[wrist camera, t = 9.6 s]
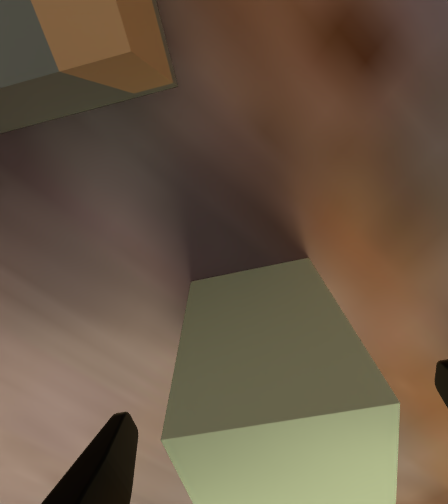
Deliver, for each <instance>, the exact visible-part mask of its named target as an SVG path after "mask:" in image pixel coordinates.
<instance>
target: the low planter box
mask: <svg viewBox="0 0 448 504" xmlns="http://www.w3.org/2000/svg"><path fill="white" fill-rule="evenodd" d="M174 87H178V84H177V80H176V77H175V73H174V69H173V65H172V61H171V57H170V53H169V49H168V45H167V41H166V38H165V34H164V30H163V26H162V22H161V18H160V14H159V10H158V6H157V2H156V0H0V133H4V132H8V131H11V130H15V129H19V128H23V127H27V126H30V125H34V124H38V123H42V122H46V121H49V120H53V119H57V118H61V117H64V116H68V115H72V114H76V113H80V112H83V111H87V110H91V109H95V108H99V107H102V106H106V105H110V104H114V103H118V102H121V101H125V100H129V99H133V98H136V97H140V96H144V95H148V94H152V93H155V92H159V91H163V90H167V89H171V88H174Z"/></svg>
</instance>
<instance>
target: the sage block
mask: <svg viewBox="0 0 448 504" xmlns="http://www.w3.org/2000/svg"><path fill="white" fill-rule="evenodd" d="M399 416H400V402H399V401H398V399H397V397H396V396H395V394H394V393H393V391H392V389H391V388H390V386H389V385H388V383H387V381H386V380H385V378H384V377H383V375H382V374H381V372H380V370H379V369H378V367H377V366H376V364H375V362H374V361H373V359H372V358H371V356H370V354H369V353H368V351H367V350H366V348H365V346H364V345H363V343H362V342H361V340H360V339H359V337H358V335H357V334H356V332H355V331H354V329H353V327H352V326H351V324H350V323H349V321H348V319H347V318H346V316H345V315H344V313H343V312H342V310H341V308H340V307H339V305H338V304H337V302H336V300H335V299H334V297H333V296H332V294H331V292H330V291H329V289H328V288H327V286H326V285H325V283H324V281H323V280H322V278H321V277H320V275H319V273H318V272H317V270H316V269H315V267H314V265H313V264H312V262H311V261H310V259H309V258H305V259H300V260H295V261H290V262H285V263H280V264H275V265H270V266H265V267H260V268H256V269H251V270H246V271H241V272H236V273H231V274H226V275H221V276H216V277H211V278H206V279H202V280H197V281H192V282H191V284H190V289H189V295H188V300H187V305H186V310H185V316H184V321H183V326H182V331H181V337H180V342H179V347H178V352H177V358H176V363H175V368H174V373H173V379H172V384H171V389H170V394H169V400H168V405H167V410H166V415H165V421H164V426H163V431H162V436H161V442H162V444H163V445H164V447H165V449H166V451H167V453H168V455H169V457H170V459H171V461H172V463H173V465H174V467H175V469H176V471H177V473H178V475H179V477H180V479H181V481H182V483H183V485H184V487H185V488H186V490H187V492H188V494H189V496H190V498H191V500H192V502H193V504H396V486H397V463H398V440H399Z"/></svg>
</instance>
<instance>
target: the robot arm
mask: <svg viewBox="0 0 448 504" xmlns="http://www.w3.org/2000/svg"><path fill="white" fill-rule="evenodd" d="M435 386H436V388H437V391H438V392H439V394H440V396H441V397H442V399H443V401H444V403H445V404H446V406H447V408H448V359H447V360H441V361H438V362H437V365H436V373H435ZM137 443H138V429H137V427H136V425H135V423H134V421H133V419H132V418H131V416H130V414H129V413H128V412H121V413H116V414H114V415H113V416H112V417H111V418H110V419H109V420H108V422H107V423H106V424H105V425H104V427H103V428H102V429H101V430H100V432H99V433H98V434H97V435H96V437H95V438H94V439H93V440H92V442H91V443H90V444H89V445H88V446H87V448H86V449H85V450H84V451H83V453H82V454H81V455H80V456H79V458H78V459H77V460H76V461H75V463H74V464H73V465H72V466H71V467H70V469H69V470H68V471H67V472H66V474H65V475H64V476H63V477H62V479H61V480H60V481H59V482H58V484H57V485H56V486H55V487H54V489H53V490H52V491H51V492H50V493H49V495H48V496H47V497H46V498H45V500H44V501H43V502H42V503H41V504H130V499H131V493H132V486H133V477H134V468H135V460H136V451H137Z"/></svg>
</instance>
